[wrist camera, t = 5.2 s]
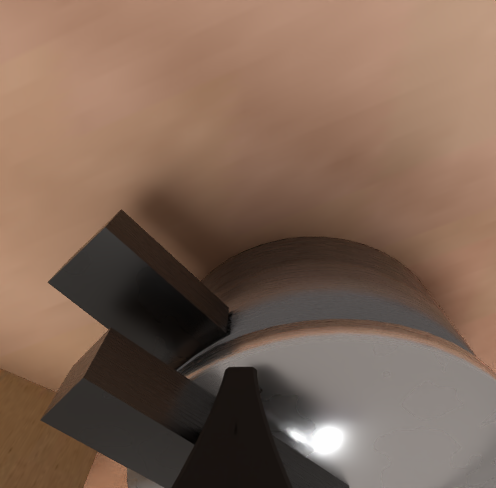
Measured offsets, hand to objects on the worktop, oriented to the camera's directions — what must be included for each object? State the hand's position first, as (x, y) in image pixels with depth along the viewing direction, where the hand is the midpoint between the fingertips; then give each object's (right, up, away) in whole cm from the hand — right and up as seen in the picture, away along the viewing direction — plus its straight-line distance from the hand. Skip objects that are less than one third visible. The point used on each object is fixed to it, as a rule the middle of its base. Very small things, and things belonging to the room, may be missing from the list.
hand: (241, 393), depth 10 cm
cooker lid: (+2, -4, +4) cm, 6 cm away
